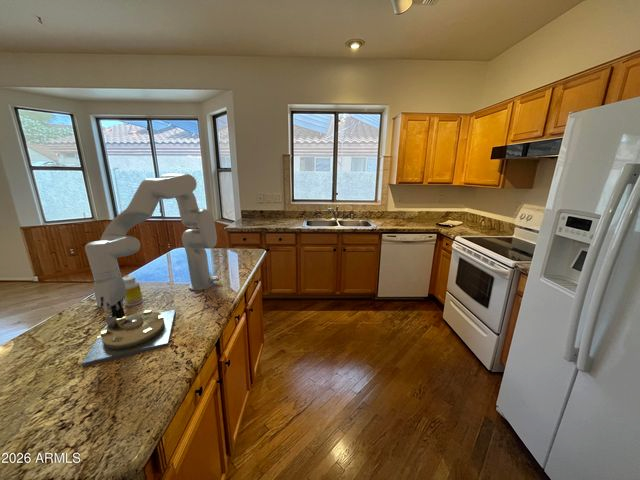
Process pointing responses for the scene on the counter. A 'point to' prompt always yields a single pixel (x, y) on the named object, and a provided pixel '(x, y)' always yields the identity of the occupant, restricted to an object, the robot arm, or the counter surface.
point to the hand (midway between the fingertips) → (119, 317)
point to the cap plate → (104, 354)
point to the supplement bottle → (132, 291)
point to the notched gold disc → (131, 329)
